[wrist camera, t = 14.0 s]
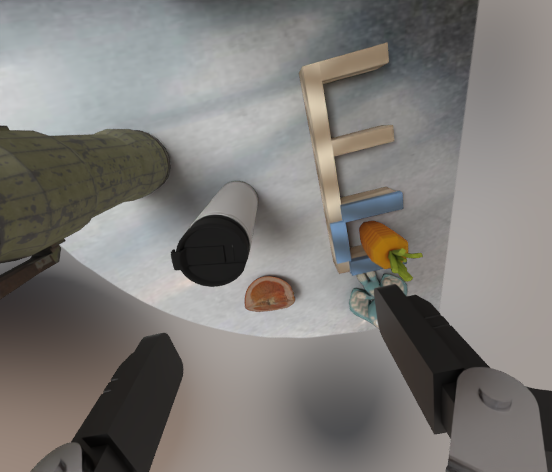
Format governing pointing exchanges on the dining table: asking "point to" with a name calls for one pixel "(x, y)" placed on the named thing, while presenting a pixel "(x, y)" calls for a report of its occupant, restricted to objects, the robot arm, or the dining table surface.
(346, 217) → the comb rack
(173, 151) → the dining table surface
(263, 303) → the fruit slice
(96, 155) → the thermos
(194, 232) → the travel mug
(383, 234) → the carrot
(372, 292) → the stuffed animal
